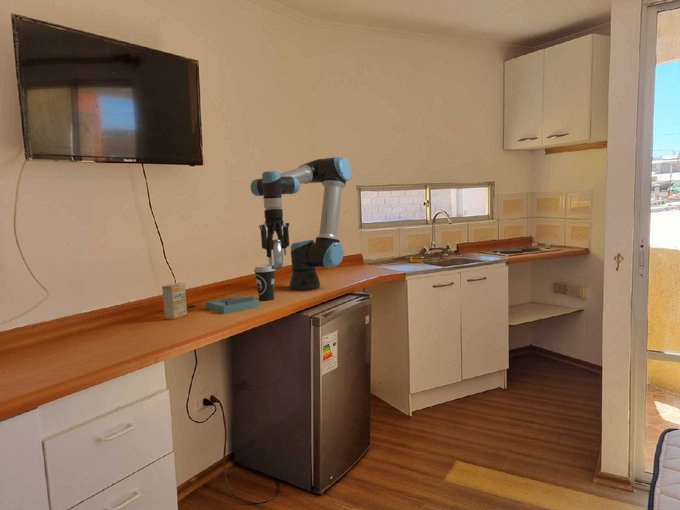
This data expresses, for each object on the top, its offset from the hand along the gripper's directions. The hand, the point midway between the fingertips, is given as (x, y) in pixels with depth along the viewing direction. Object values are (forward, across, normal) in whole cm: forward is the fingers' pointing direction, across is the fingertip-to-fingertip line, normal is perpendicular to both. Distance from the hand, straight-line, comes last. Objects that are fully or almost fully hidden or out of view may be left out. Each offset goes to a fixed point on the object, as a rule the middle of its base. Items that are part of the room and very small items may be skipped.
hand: (277, 264), depth 219 cm
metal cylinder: (+2, 0, 0) cm, 2 cm away
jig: (+17, +17, -9) cm, 26 cm away
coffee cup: (+17, -2, -13) cm, 21 cm away
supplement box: (+17, +40, -12) cm, 45 cm away
